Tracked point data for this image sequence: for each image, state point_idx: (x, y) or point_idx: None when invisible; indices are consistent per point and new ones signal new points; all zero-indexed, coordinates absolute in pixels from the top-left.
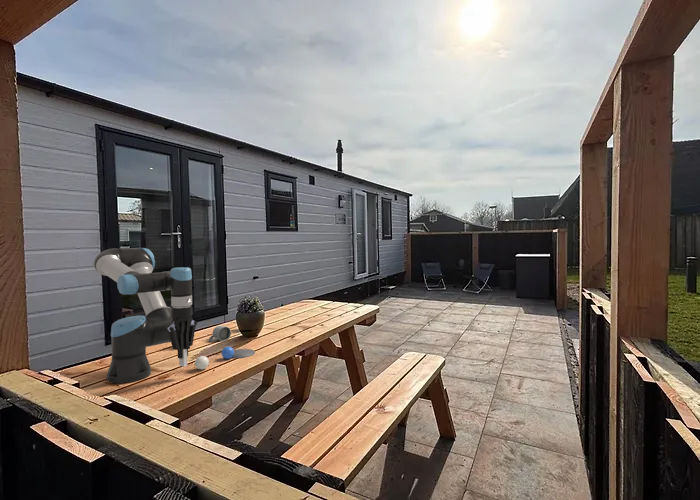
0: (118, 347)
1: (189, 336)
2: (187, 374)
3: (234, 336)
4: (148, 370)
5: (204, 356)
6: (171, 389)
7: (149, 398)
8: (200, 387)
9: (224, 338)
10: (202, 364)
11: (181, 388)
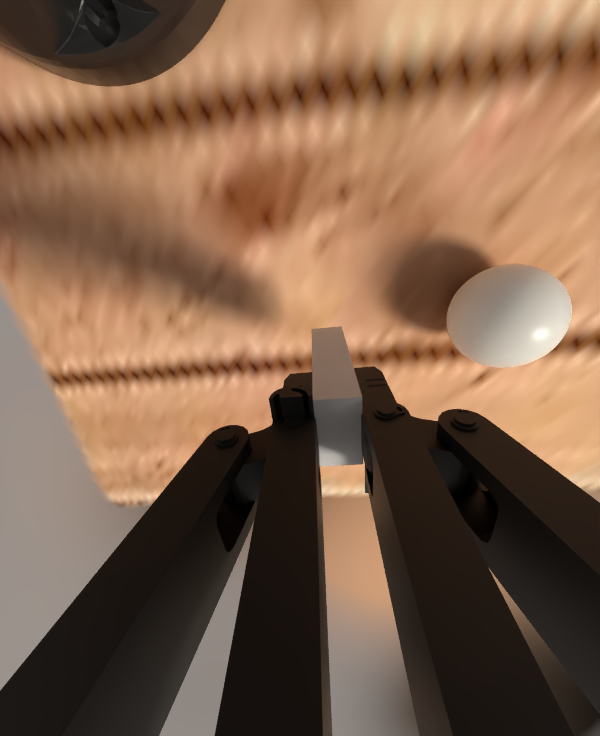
0: None
1: (542, 586)
2: (367, 303)
3: None
4: (173, 17)
5: (546, 347)
6: (199, 407)
7: (97, 411)
8: None
9: None
10: (465, 355)
11: None
